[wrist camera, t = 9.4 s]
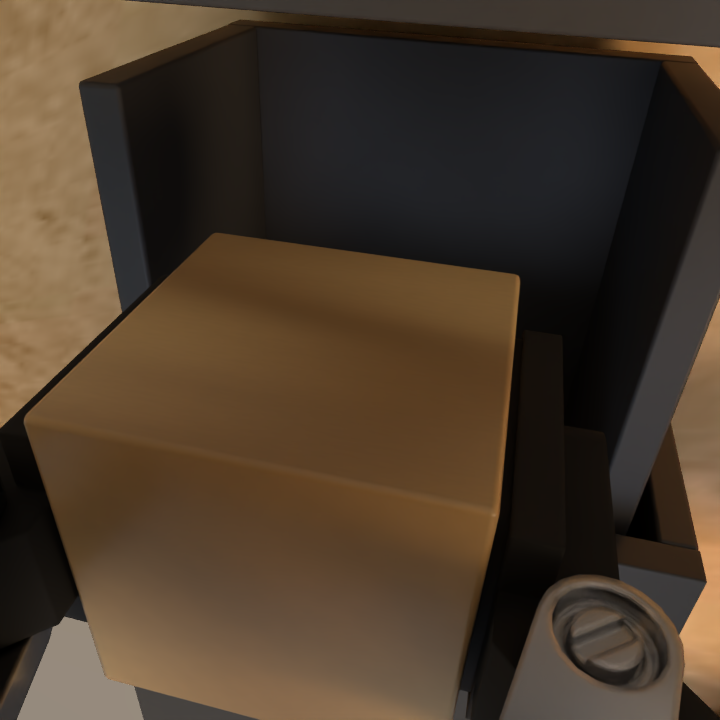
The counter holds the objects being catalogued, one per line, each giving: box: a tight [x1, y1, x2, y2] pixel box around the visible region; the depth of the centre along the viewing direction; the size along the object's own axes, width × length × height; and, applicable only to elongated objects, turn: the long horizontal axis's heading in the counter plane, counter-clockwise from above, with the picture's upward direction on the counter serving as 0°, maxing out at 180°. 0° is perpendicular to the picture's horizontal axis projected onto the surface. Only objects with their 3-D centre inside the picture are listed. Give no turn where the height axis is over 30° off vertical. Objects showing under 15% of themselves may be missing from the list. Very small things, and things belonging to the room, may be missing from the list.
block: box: [24, 233, 520, 720], centre depth 9 cm, size 4×4×4 cm
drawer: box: [79, 0, 720, 536], centre depth 15 cm, size 18×12×8 cm
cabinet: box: [134, 422, 707, 720], centre depth 22 cm, size 15×14×10 cm
